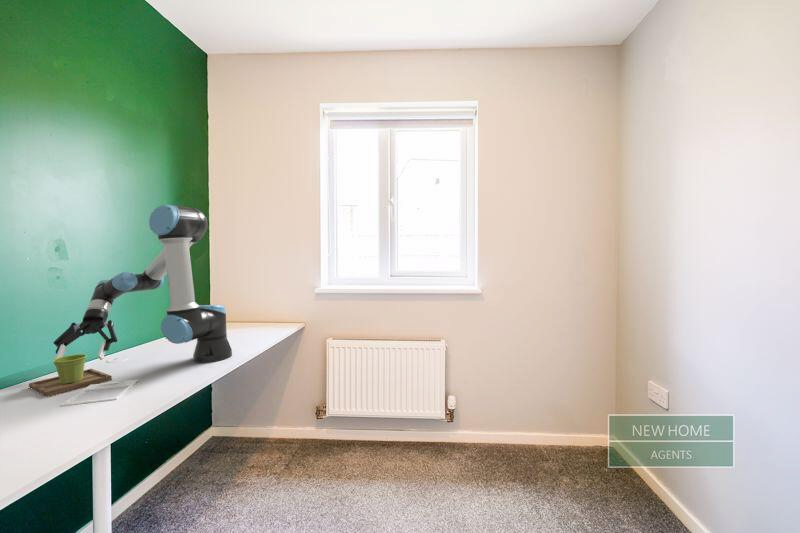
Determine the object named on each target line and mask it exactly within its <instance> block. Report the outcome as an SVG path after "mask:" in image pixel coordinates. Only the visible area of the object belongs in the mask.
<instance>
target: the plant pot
mask: <svg viewBox="0 0 800 533" xmlns="http://www.w3.org/2000/svg"><path fill="white" fill-rule="evenodd" d="M87 357H88V355H87V354H83V353H82V354H79V353H78V354H70V355H66V356H65V355H64V356H63V357H60V358H57V359H55V358H54V359H52V360H51V361H52V363H53V364H54V366H55V367H56V371H57V375H58V376H59V380H60V383H61V384H67V383H75V382H78V381H81V380H82V379H83V372H84V370H85V362H86V359H87ZM58 376H57V377H58Z"/></svg>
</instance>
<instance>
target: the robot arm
mask: <svg viewBox="0 0 800 533" xmlns="http://www.w3.org/2000/svg"><path fill="white" fill-rule="evenodd" d="M148 226H149V229H150V230H151V231H152V233H153V234H155V235H157V239H158V242H160V243H161V244H162V245H163V249H162V250H161V251H160V252H159V253H158V255H157V256H156V257H155V258H154V260H152V262H151V263H150V264H149V265H148V267H147V268H145V270H144V271H143V272H142V273H136V274H134V273H132V272H130V271H122V272H120V273H118V274H116V275H114V276H113V277H112V278H111V279H102V280H100V281H99V282H98V283H97V284H96V285H95V287H94V290H93V293H92V296H91V299H90V301H89V303H88V305H87V307H86V311H85V313H84V315H83V318H82V321H81V323H76V322H72V323H71V324H70V326H69V327H68V328H67V329H66V330H65V331H64V332H63V333H61V335H60V336H59V337H57V338H56V339H55V340H53V344H54V345H55V347H57V348H56V349H55V354H56V355H55V358H54V359H57V358H60V357H64V356H65V354H66V351H67V348H68V347H67V346H69V345H70V344H71V343H73V342H74V341H76V340H78V339H79V338H80V337H83V336H85V335H90V334H91V335H93V334H96V333H99V335H100V336H101V337H102V339H103V341H102V342H101V346H100V348H99V351H98V353H97V358H98V359H99V360H101V361H102V360H104V356H105V354H106V352H108V351H109V350H110V347H111V344H112V343H117V342H118V338H117V335H116V332H115V330H114V326H115V325H114V322H113V321H112V319H111V320H110V319H109V320H108V318H109V317H108V316H109V314H110V312H111V309H112V306H113V305H114V302H115V300H116V299H117V298H119V297H121V296H122V295H125V294H127V293H135V292H143V291H153V290H157V289H160V288H162V286H163V285H164V281H165V280H164V279H165V278H164V277H166V276H167V277H166V278H167V285H168V286H167V287H168V294H169V303H170V305H169V307H168V308H167V309H166V316H165V317H163V318H162V321H161V323H160V329H161V333H162V335H163V337H164V338H165V340H166V339H167V341H168V342H170V343H172V344H176V345H177V344H179V345H180V344H184V343H185V344H186V343H189V342H191V341H194V340H196V343H195V344H196V345H195V348H194V351H193V357H192V358H193V362H196V363H211V362H218V361H222V360H223V361H224V360H226V359H229V358H230V357H232V356H233V350H232V347H231V345H230V342H229V340H228V335H227V312H226V308H225V306H224V305H222V304H221V305H219V304H204V305H203V304H200V305H199V303H197V302H196V297H195V296H196V295H195V289H194V288H195V286H194V279H193V272H192V271H193V270H192V262H191V253H190V248H191V246H193V245H194V244H197V243H198V242H200V241H201V239H202V238H203V237H204V235H205V234H206V232H207V229H208V218H207V216H205V214H204V212H202V211H201V210H200V209H198V208H195V207H190V206H189V207H187V206H181V205H174V204H162V205H161V204H160V205H159V206H156V207H155V208H154V209H153V210H152V212H150V216H149V219H148ZM107 320H108V321H107ZM105 327H106V328H107V329H108V332H109V335H110V338H109V337H108V336H107V334H106V333H105V332H104V331H103V330H102V329H103V328H105Z"/></svg>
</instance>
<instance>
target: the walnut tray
mask: <svg viewBox="0 0 800 533" xmlns="http://www.w3.org/2000/svg"><path fill="white" fill-rule="evenodd" d="M112 379H113V378H112V375H110V374H108V373H105V372H102V371H99V370H96V369H94V368H89V369H84V372H83V379H82V380H81V381H78V382H75V383H67V384H61V383H60V380H59V376H55V377H54V376H53V377H50V378H46V379H41V380H38V381H33V382H30V383H28V387H30V388H29V389H31V388H32V389H33V391H34V390H35V392H36V391H37V393H38V392H39V394H40V393H41V394H40V395H42V394H43V395H42V396H44V395H45V396H44V397H46V396H47V397H46V398H49V397H48V396H50V397H53V396H52V395H54V396H56V394H58V395H60V393H61V394H64V392H65V393H68V391H69V392H73V391H77V390H79V389H85V388H86V387H87V386H89V385H92V384H98V383H99V384H102V382H103V383H107V382H110V381H112ZM109 380H110V381H109ZM32 389H31V390H32ZM72 390H73V391H72Z"/></svg>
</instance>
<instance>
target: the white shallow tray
mask: <svg viewBox="0 0 800 533" xmlns="http://www.w3.org/2000/svg"><path fill="white" fill-rule="evenodd" d="M137 381H138V382H139V379H132V380H122V381H111V382H103V383H99V384H92V385H89V386H88V387H84V388H82V390H80V391H79V392H77V393H76V394H74V395H73V396H71V397H70V398H69V399H67V400H65V401H64V402H63V403H61V404H60V407H66V406H67V407H68V406H75V405H76V406H77V405H85V404H91V403H92V404H93V403H98V402H99V403H101V402H110V401H116V400H118V399H119V398H120V397H121V396H122V395H124V394H125V393H126V392H128V391H129V390H130V389H131V388H132V387H133V386H134V385H136V382H137ZM138 382H137V383H138ZM127 386H128V387H127ZM118 387H119V388H125V389H123V390H122V391H121V392H119V394H117V396H115V397H110V398H102V399H95V400H94V399H93V400H92V399H91V400H84V401H76V402H72V401H74V399H76V398H78V397H79V396H80V395H82V394H83V393H85V392H90V391H92V390H93V391H99V390H109V389H117V388H118ZM129 388H130V389H129ZM68 402H69V403H68Z"/></svg>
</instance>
